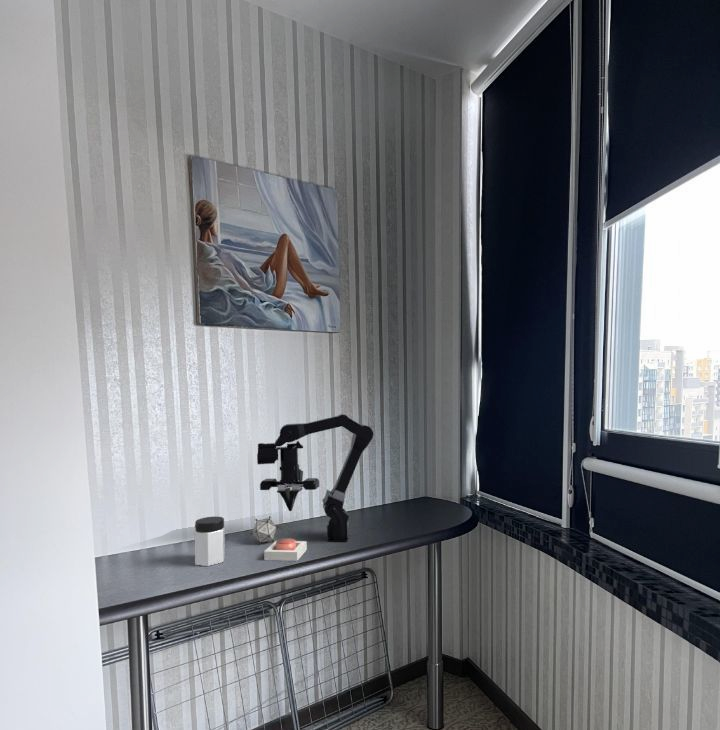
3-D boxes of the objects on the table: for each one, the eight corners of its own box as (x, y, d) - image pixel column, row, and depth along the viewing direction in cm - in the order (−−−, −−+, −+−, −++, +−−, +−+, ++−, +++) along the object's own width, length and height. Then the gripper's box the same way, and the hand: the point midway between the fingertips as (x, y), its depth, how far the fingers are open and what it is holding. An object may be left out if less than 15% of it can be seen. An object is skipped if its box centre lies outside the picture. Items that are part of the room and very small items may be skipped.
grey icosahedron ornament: (259, 555, 151) (239, 531, 151) (274, 538, 158) (256, 515, 159) (273, 546, 146) (254, 521, 147) (289, 529, 154) (270, 505, 154)
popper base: (306, 549, 144) (306, 541, 144) (297, 560, 134) (297, 552, 134) (276, 548, 145) (275, 540, 146) (264, 560, 136) (264, 551, 136)
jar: (198, 557, 140) (197, 517, 141) (225, 555, 141) (225, 515, 142) (193, 568, 131) (192, 525, 132) (222, 565, 132) (222, 522, 133)
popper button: (298, 550, 142) (298, 537, 142) (292, 557, 136) (292, 544, 136) (280, 550, 143) (279, 537, 143) (273, 557, 137) (272, 543, 137)
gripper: (322, 458, 159) (324, 504, 158) (270, 459, 162) (271, 505, 161) (314, 463, 148) (315, 513, 147) (258, 464, 151) (259, 513, 150)
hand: (290, 510), depth 151 cm, fingers closed
